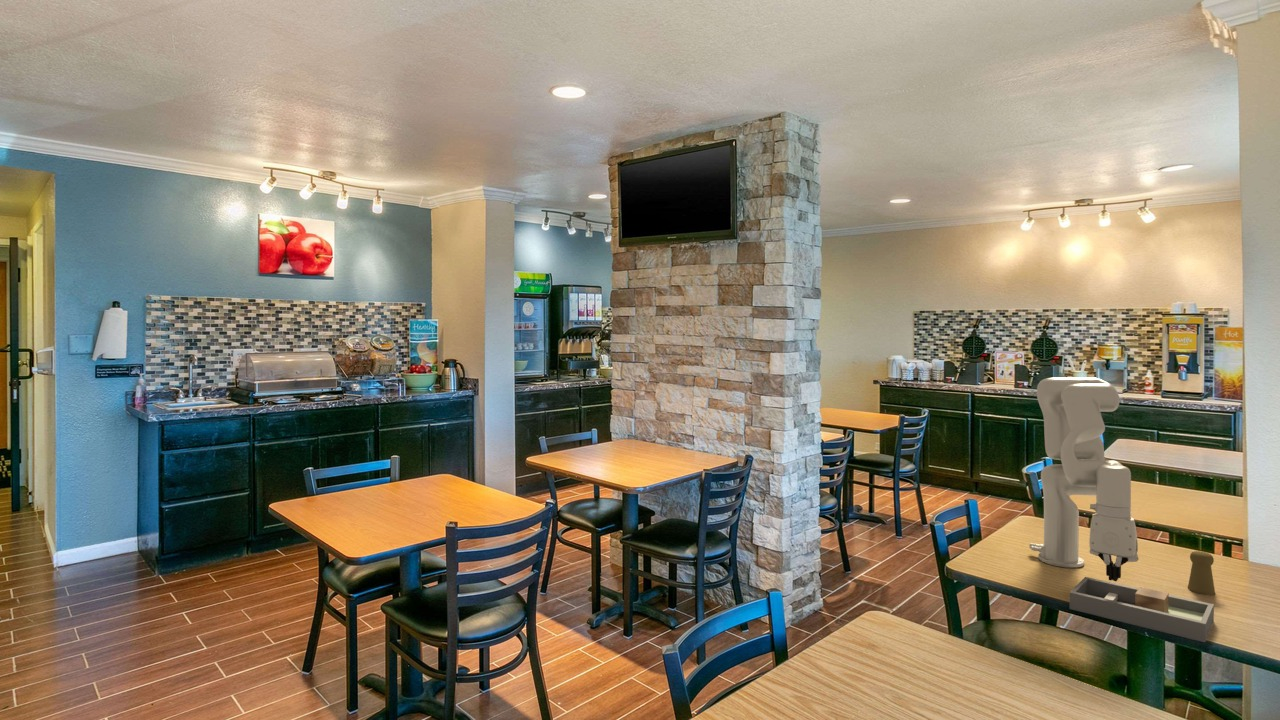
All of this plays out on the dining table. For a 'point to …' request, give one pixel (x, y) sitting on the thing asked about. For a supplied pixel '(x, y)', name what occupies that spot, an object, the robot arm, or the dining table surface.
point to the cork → (1201, 573)
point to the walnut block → (1152, 599)
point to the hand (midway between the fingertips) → (1113, 579)
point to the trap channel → (1143, 609)
